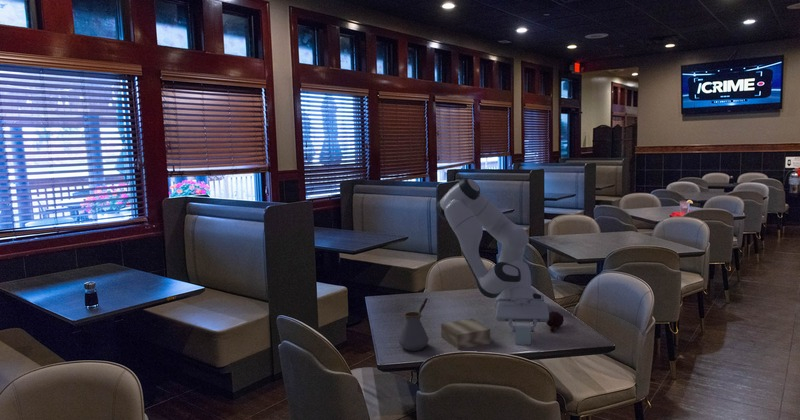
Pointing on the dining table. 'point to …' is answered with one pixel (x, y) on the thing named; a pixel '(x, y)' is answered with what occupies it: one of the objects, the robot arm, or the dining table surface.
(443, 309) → the dining table surface
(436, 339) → the dining table surface
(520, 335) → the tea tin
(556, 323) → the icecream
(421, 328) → the coffee pot
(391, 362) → the dining table surface
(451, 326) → the oak box
